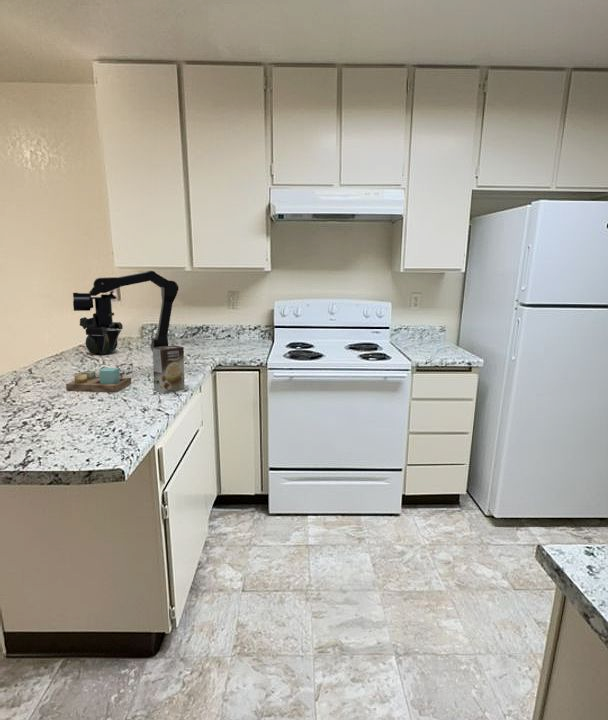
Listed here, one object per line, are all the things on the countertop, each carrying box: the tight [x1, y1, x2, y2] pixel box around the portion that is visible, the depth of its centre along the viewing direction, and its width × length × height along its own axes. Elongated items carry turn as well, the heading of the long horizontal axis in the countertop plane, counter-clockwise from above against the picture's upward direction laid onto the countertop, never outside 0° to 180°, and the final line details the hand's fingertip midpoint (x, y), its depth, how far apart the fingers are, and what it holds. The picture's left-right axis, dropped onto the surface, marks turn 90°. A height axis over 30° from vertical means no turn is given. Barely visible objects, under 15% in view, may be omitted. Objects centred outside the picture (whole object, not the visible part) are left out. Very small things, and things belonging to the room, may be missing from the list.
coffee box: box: [152, 344, 185, 394], centre depth 149 cm, size 9×6×16 cm
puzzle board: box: [65, 370, 132, 393], centre depth 150 cm, size 18×12×5 cm, turn 89°
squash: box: [85, 334, 118, 356], centre depth 211 cm, size 14×15×15 cm
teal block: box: [98, 367, 121, 384], centre depth 150 cm, size 5×5×6 cm
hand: (106, 349), depth 161 cm, fingers open, 9 cm apart
